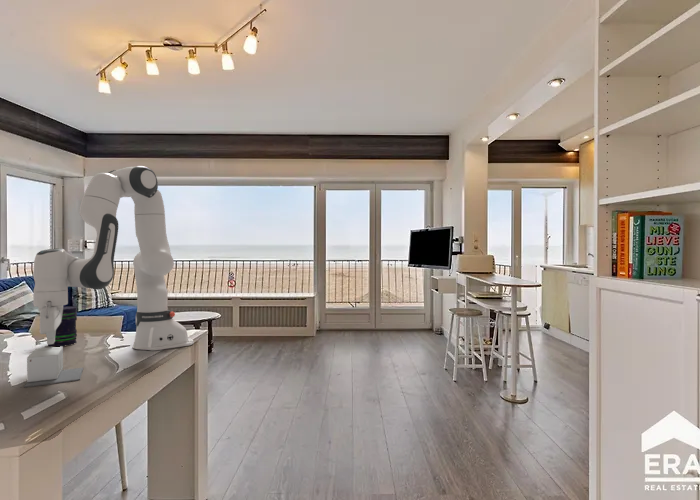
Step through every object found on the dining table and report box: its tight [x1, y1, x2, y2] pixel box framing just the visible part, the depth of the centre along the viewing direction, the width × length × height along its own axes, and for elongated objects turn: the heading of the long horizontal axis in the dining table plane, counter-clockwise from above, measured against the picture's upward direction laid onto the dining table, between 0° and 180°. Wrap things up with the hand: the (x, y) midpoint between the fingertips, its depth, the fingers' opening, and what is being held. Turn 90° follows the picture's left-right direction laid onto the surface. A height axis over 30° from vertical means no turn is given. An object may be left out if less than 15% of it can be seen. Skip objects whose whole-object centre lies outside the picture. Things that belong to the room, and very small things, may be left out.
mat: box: [23, 367, 84, 388], centre depth 124 cm, size 13×14×1 cm
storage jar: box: [47, 305, 78, 347], centre depth 169 cm, size 10×10×15 cm
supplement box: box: [26, 346, 64, 383], centre depth 125 cm, size 7×7×13 cm
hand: (51, 343), depth 130 cm, fingers closed
